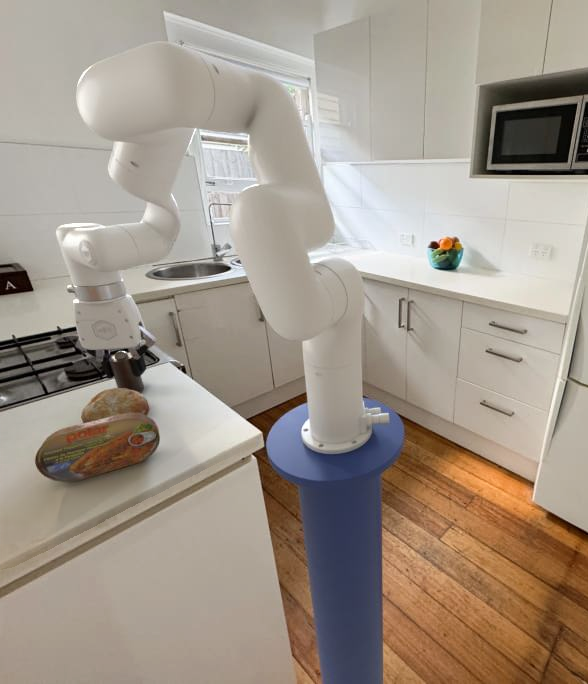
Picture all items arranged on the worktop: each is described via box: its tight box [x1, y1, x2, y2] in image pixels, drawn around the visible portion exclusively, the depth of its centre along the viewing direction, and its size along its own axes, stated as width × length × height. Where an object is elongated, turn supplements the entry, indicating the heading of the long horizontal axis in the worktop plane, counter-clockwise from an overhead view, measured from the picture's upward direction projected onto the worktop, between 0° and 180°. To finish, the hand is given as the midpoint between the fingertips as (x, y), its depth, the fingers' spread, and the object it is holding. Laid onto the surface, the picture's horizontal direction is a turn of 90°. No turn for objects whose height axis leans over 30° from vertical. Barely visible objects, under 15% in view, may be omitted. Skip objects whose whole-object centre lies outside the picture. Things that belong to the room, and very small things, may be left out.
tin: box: [34, 413, 161, 483], centre depth 59 cm, size 15×3×8 cm, turn 122°
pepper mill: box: [109, 350, 145, 393], centre depth 80 cm, size 4×4×9 cm
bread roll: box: [80, 387, 150, 424], centre depth 71 cm, size 10×10×8 cm
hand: (127, 373), depth 80 cm, fingers closed on pepper mill, 4 cm apart
